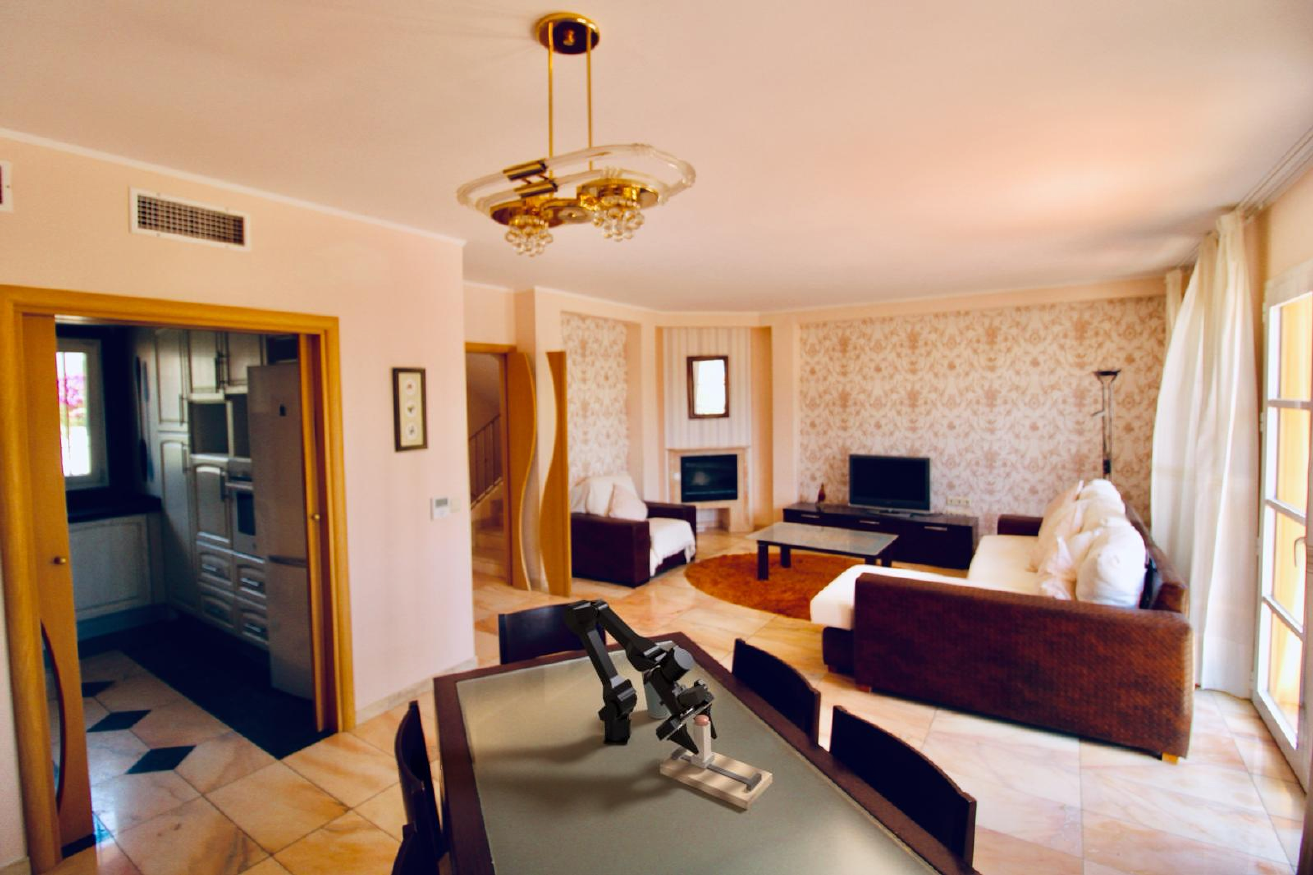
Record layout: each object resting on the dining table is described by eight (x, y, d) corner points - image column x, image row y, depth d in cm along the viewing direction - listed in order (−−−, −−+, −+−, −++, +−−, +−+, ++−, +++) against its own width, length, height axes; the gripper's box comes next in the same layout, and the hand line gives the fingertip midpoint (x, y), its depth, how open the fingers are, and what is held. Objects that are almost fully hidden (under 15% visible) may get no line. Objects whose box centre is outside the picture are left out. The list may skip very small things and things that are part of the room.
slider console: (660, 773, 151) (659, 759, 151) (687, 749, 160) (687, 737, 160) (747, 809, 136) (747, 794, 136) (772, 782, 146) (771, 768, 146)
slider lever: (690, 763, 150) (689, 720, 149) (700, 754, 153) (699, 712, 153) (704, 769, 147) (703, 725, 147) (714, 760, 151) (713, 717, 150)
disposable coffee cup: (636, 719, 177) (634, 668, 176) (650, 701, 187) (648, 653, 186) (670, 725, 173) (669, 673, 172) (683, 707, 183) (682, 657, 182)
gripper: (664, 688, 144) (705, 748, 138) (707, 659, 159) (746, 713, 153) (638, 711, 149) (677, 771, 143) (682, 681, 164) (719, 734, 158)
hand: (707, 746), depth 149 cm, fingers open, 8 cm apart
